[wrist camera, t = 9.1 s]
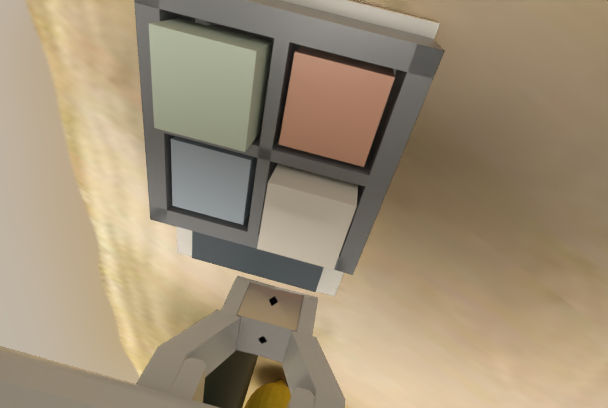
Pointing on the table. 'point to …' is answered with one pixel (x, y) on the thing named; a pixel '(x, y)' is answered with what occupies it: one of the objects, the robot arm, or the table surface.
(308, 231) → the key ivory
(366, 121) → the key terracotta
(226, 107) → the key sage
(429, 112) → the table surface
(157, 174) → the keypad
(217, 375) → the wine bottle
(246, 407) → the lemon
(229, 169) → the key slate
